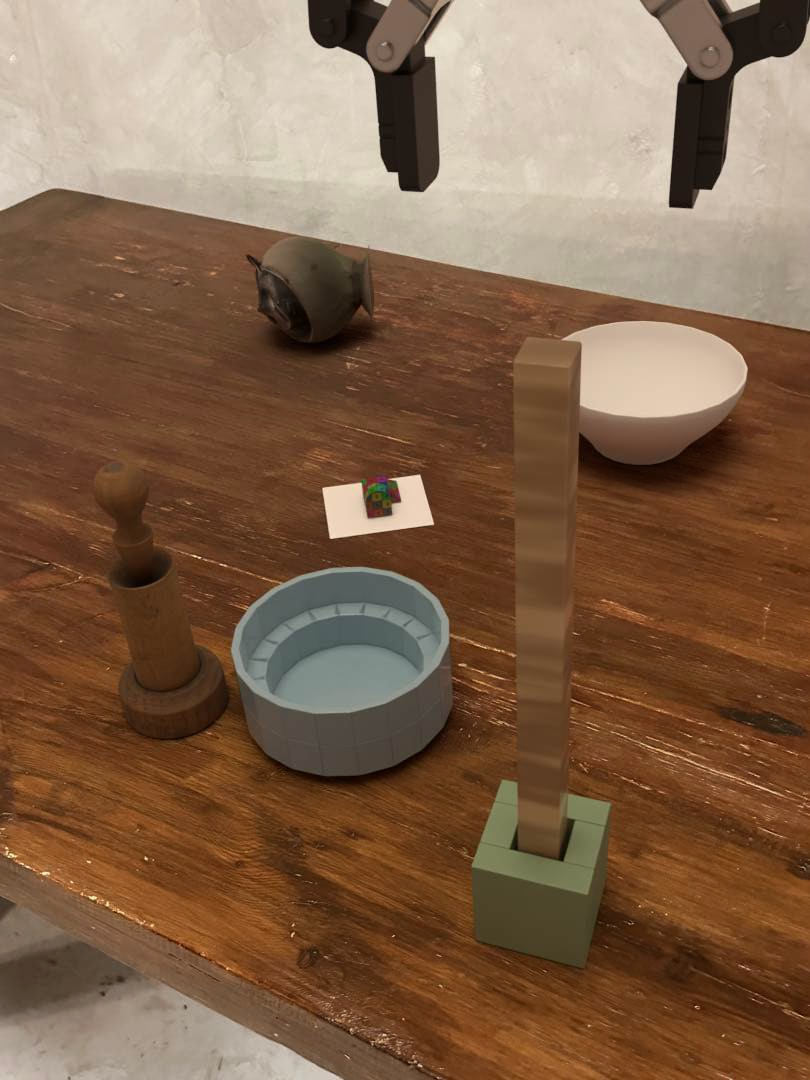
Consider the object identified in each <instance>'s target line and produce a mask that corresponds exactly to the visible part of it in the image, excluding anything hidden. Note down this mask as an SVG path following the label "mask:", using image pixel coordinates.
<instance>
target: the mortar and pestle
mask: <svg viewBox="0 0 810 1080" xmlns="http://www.w3.org/2000/svg"><path fill="white" fill-rule="evenodd" d="M92 493H93V497H94V500H95V502H96V503H97V505H98V506H99V507H100V508H101V509H102V511H104V512H105V513H106V514H107V515H109V516H110V517H111V518H112V519H113V520H114V521H115V524H116V529H115V531H114V532H113V533H112V536H111V539H112V542H113V545H114V547H115V549H116V550H117V553H118V554H119V555H120V556H118V557H117V558H115V559H114V561H112V562H111V564H110V566H109V567H108V569H107V580H108V582H109V587H110V590H111V592H112V596H113V599H114V602H115V606H116V608H117V612H118V616H119V618H120V622H121V625H122V629H123V633H124V636H125V639H126V644H127V646H128V650H129V654H130V657H131V661H130V662H129V663H128V664H127V665H126V666H125V667H124V669H123V670H122V672H121V674H120V676H119V679H118V683H117V689H118V696H119V700H120V703H121V706H122V711H123V714H124V717H125V720H126V721H127V723H128V724H129V725H130V727H132V729H133V730H135V731H136V732H138V733H140V734H141V735H144V736H146V737H149V738H153V739H159V740H162V739H163V740H173V739H181V738H185V737H188V736H192V735H193V734H196V733H199V732H201V731H202V730H204V729H207V727H208V726H210V725H211V724H213V723H214V722H215V721H216V720H217V719H218V718H219V717H220V716H221V714H223V711H224V710H225V708H226V706H227V703H228V699H229V687H228V683H227V680H226V676H225V672H224V667H223V664H222V662H221V660H220V659H219V657H218V656H217V655H216V653H214V652H213V651H212V650H211V649H209V648H207V647H206V646H203V645H200V644H197V643H195V640H194V635H193V632H192V627H191V624H190V619H189V615H188V611H187V607H186V603H185V602H186V601H185V598H184V594H183V590H182V587H181V586H182V585H181V581H180V577H179V573H178V569H177V568H178V567H177V563H176V560H175V557H174V555H173V553H172V552H170V551H169V550H167V548H166V549H165V548H163V547H160V546H159V547H158V546H154V530H153V528H152V527H151V525H149V524H148V523H144V522H143V518H142V517H143V516H142V515H143V512H144V510H145V507H146V505H147V501H148V498H149V495H150V483H149V479H148V478H147V476H146V474H145V472H144V471H143V470H142V468H140V467H139V466H138V465H137V464H135V463H133V462H131V461H127V460H117V461H113V462H109V463H107V464H105V465H103V466H101V468H100V469H99V470H98V471H97V472H96V474H95V476H94V478H93V481H92Z"/></svg>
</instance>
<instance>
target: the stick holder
mask: <svg viewBox="0 0 810 1080" xmlns="http://www.w3.org/2000/svg"><path fill="white" fill-rule="evenodd" d="M611 812H612V803H611V802H608V801H604V800H600V799H599V800H598V799H594V798H590V797H587V796H586V797H585V796H581V795H577V794H571V793H568V812H567V845H566V854H565V857H564V861H563V862H561V861H557V860H553V859H548V858H544V857H540V856H536V855H532V854H527V853H523V852H519V851H518V802H517V781H512V780H507V779H501V782H500V784H499V787H498V790H497V793H496V795H495V798H494V802H493V804H492V806H491V809H490V812H489V816H488V818H487V821H486V823H485V826H484V829H483V833H482V836H481V838H480V841H479V843H478V846H477V848H476V852H475V854H474V858H473V859H472V863H471V866H470V867H471V869H470V870H471V888H472V891H471V892H472V907H473V928H474V929H473V930H474V941H476V942H480V943H484V944H488V945H491V946H496V947H499V948H503V949H506V950H511V951H514V952H519V953H521V954H526V955H530V956H534V957H537V958H541V959H543V960H544V959H545V960H548V961H553V962H556V963H559V964H564V965H567V966H570V967H571V966H572V967H575V968H579V969H582V970H584V969H585V968H586V964H587V960H588V955H589V951H590V947H591V942H592V939H593V935H594V931H595V926H596V922H597V918H598V914H599V910H600V906H601V900H602V898H603V893H604V890H605V884H606V881H607V874H608V857H609V844H610V843H609V842H610V828H611V827H610V826H611Z"/></svg>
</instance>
